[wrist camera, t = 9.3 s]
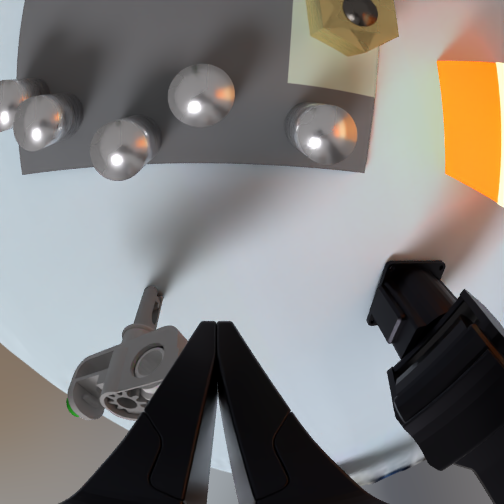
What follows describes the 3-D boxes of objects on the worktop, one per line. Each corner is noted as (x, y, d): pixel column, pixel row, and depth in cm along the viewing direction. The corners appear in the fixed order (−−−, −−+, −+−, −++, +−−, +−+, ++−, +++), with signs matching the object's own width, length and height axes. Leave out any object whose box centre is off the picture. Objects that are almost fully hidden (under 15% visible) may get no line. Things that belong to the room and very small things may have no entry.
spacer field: (357, -69, 9) (379, -89, 6) (343, 170, 18) (366, 187, 15) (38, -51, 7) (14, -64, 4) (22, 174, 16) (-7, 192, 13)
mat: (373, -61, 10) (377, -64, 9) (360, 170, 18) (364, 172, 18) (42, -51, 7) (38, -53, 7) (26, 172, 16) (22, 174, 16)
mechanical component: (96, 304, 22) (54, 404, 13) (200, 251, 20) (188, 369, 12) (118, 328, 23) (88, 429, 15) (221, 282, 22) (224, 401, 13)
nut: (370, -11, 12) (389, -22, 9) (380, 59, 14) (401, 57, 12) (302, -19, 12) (314, -34, 9) (312, 55, 14) (326, 49, 12)
